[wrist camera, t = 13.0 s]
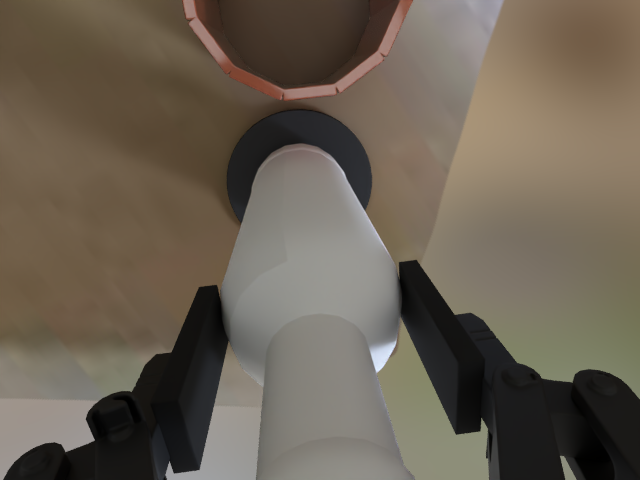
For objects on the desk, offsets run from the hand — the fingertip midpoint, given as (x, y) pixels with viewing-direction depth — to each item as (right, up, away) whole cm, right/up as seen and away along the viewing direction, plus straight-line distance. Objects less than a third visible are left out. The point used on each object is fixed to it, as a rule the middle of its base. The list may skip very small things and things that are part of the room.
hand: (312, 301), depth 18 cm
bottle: (-1, +7, +18) cm, 19 cm away
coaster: (-1, +8, +19) cm, 21 cm away
